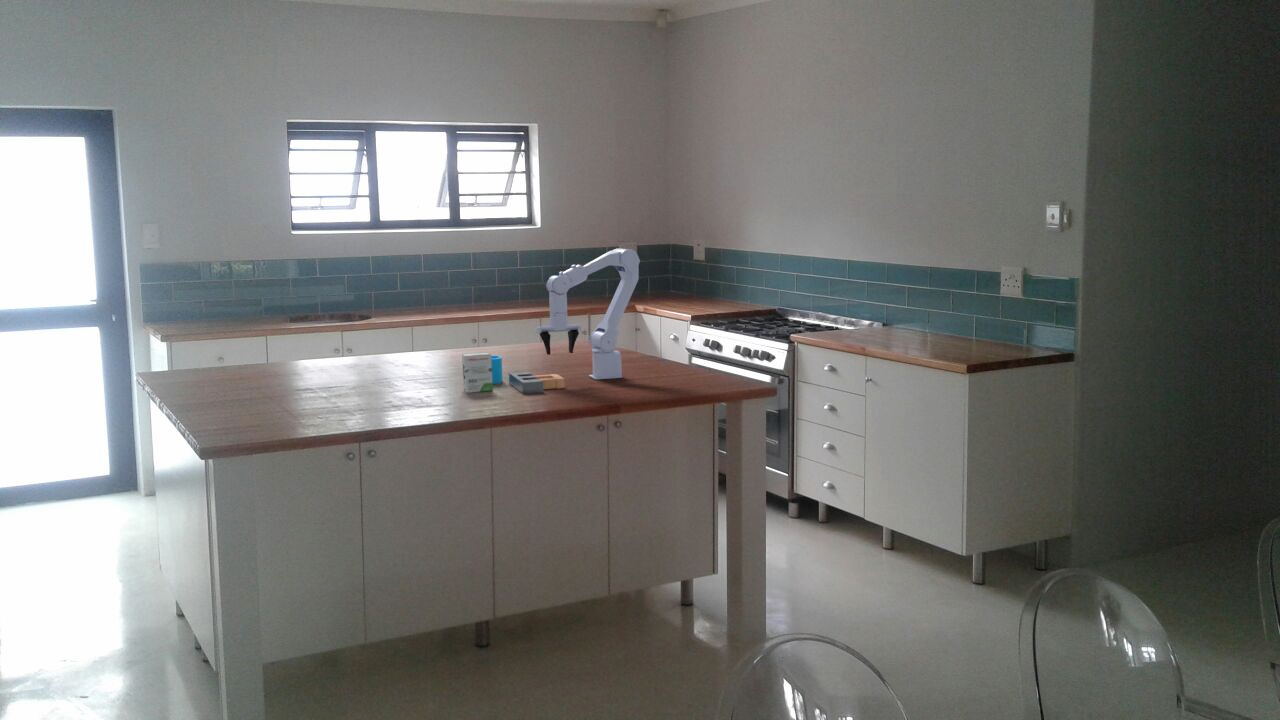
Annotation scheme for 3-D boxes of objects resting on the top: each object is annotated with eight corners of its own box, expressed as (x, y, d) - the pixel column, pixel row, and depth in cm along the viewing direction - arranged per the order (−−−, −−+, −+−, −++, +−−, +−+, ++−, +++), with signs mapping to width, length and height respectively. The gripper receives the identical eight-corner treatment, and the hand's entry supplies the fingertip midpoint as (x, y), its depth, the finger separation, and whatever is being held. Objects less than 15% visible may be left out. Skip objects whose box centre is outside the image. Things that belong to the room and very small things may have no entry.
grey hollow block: (528, 382, 373) (528, 371, 373) (543, 392, 354) (542, 381, 354) (509, 383, 371) (508, 373, 371) (522, 393, 352) (522, 382, 352)
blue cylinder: (504, 383, 372) (503, 358, 371) (479, 384, 370) (478, 359, 369) (499, 377, 384) (498, 353, 383) (475, 378, 382) (474, 354, 381)
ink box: (489, 388, 363) (488, 352, 361) (493, 390, 358) (492, 354, 356) (463, 390, 360) (461, 353, 358) (466, 393, 355) (464, 355, 353)
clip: (556, 382, 371) (556, 373, 371) (564, 387, 362) (564, 378, 361) (534, 384, 369) (534, 375, 368) (541, 389, 359) (541, 380, 359)
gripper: (576, 310, 376) (577, 350, 378) (533, 312, 371) (535, 353, 373) (582, 312, 370) (583, 353, 372) (539, 314, 365) (540, 356, 367)
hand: (559, 353), depth 372 cm, fingers open, 7 cm apart
